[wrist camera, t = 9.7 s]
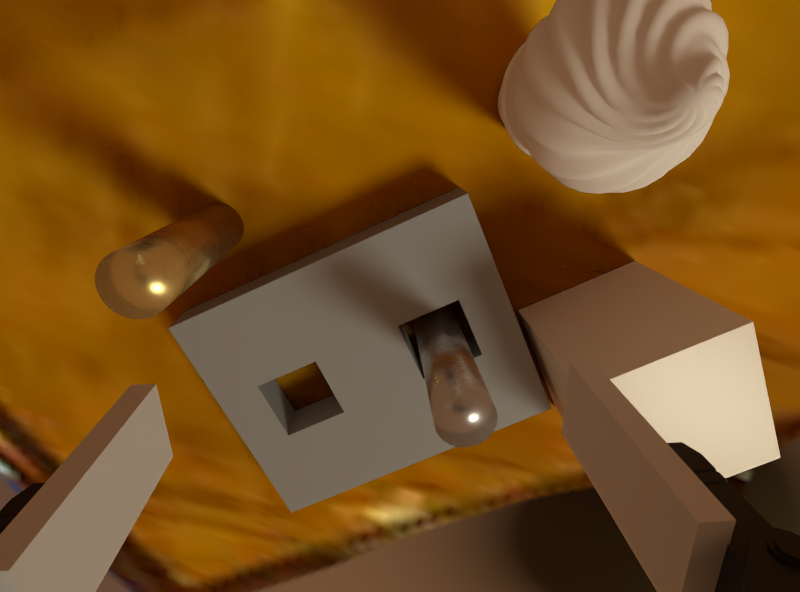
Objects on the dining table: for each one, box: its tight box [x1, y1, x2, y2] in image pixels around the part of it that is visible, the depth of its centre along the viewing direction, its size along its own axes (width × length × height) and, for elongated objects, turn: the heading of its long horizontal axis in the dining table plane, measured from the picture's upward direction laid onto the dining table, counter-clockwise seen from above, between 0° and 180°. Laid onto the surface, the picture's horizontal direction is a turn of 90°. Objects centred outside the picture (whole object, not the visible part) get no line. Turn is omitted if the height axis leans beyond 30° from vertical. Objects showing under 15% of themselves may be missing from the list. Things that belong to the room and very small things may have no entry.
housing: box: [518, 261, 780, 478], centre depth 30 cm, size 9×9×11 cm
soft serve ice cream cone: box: [498, 0, 730, 194], centre depth 22 cm, size 8×8×16 cm
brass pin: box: [95, 203, 244, 319], centre depth 26 cm, size 3×3×12 cm
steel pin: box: [414, 305, 498, 447], centre depth 29 cm, size 3×3×12 cm
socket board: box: [168, 187, 551, 513], centre depth 33 cm, size 16×20×3 cm
